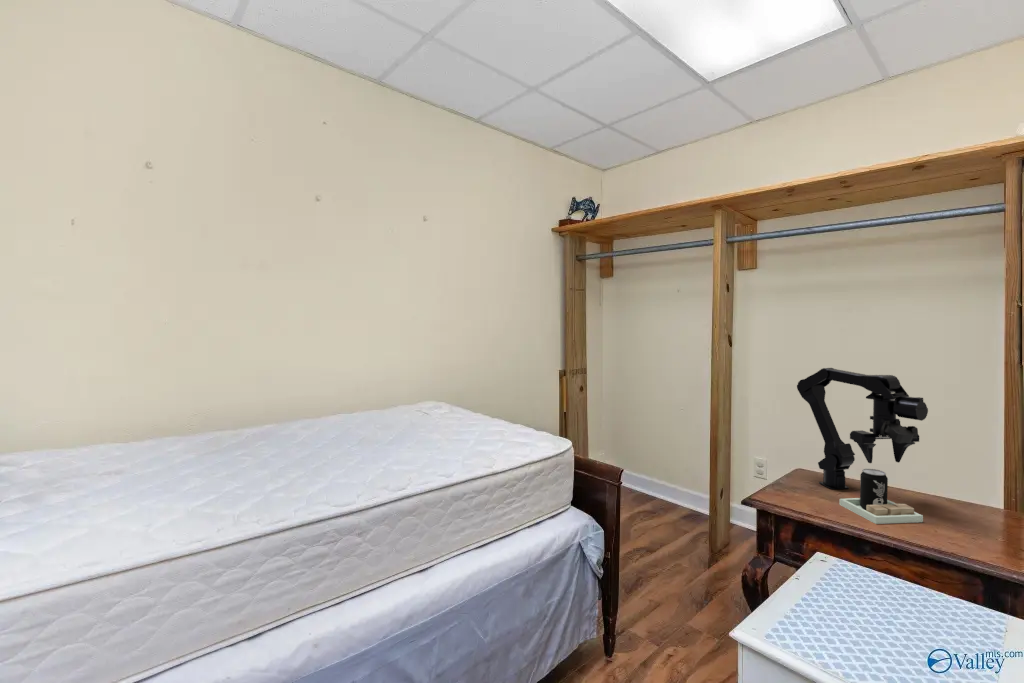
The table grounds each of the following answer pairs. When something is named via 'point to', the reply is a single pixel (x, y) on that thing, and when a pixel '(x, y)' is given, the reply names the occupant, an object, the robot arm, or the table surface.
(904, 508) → the maple cube
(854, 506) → the tray
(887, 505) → the maple cube
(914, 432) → the robot arm
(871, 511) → the maple cube
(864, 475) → the beverage can
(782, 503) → the table surface
